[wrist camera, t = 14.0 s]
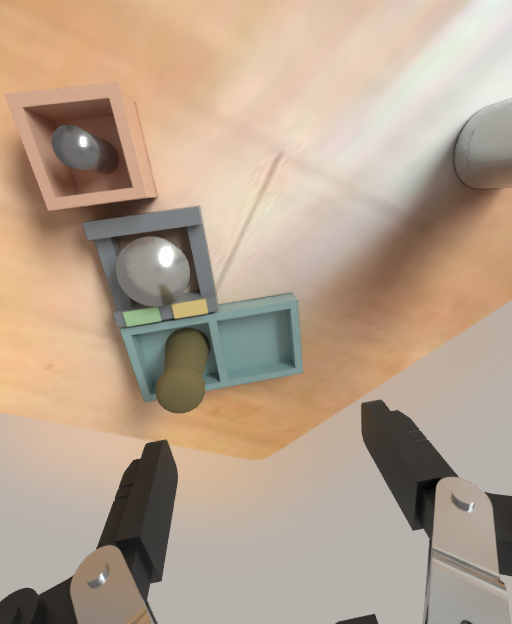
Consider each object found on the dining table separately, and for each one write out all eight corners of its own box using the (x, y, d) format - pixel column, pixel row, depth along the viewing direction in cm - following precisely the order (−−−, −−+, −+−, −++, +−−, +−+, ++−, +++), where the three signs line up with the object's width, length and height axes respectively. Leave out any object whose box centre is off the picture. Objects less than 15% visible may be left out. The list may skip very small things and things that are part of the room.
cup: (135, 103, 30) (117, 82, 24) (157, 197, 33) (146, 197, 28) (43, 112, 29) (4, 93, 24) (76, 208, 33) (48, 210, 27)
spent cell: (113, 137, 30) (86, 122, 24) (122, 171, 31) (99, 166, 25) (81, 141, 30) (45, 127, 24) (92, 175, 31) (60, 170, 25)
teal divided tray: (291, 292, 40) (297, 299, 37) (297, 361, 44) (303, 372, 41) (126, 319, 38) (119, 329, 35) (149, 388, 42) (144, 402, 40)
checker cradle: (200, 205, 34) (198, 206, 31) (217, 301, 39) (218, 311, 35) (94, 220, 33) (80, 223, 30) (125, 316, 38) (116, 328, 34)
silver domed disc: (184, 228, 34) (180, 232, 30) (197, 290, 37) (195, 300, 33) (117, 238, 33) (105, 243, 30) (135, 300, 36) (127, 311, 33)
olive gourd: (197, 373, 42) (192, 430, 32) (157, 356, 40) (138, 410, 30) (218, 339, 40) (219, 387, 30) (177, 320, 38) (164, 364, 28)
